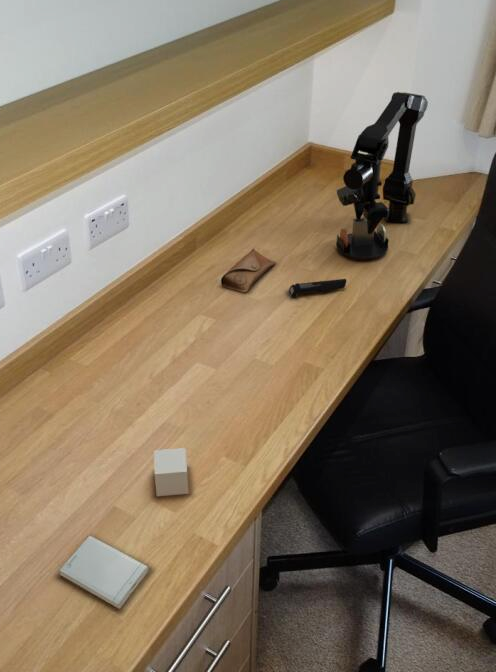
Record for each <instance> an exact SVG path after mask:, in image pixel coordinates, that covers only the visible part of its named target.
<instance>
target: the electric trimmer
mask: <svg viewBox="0 0 496 672" xmlns="http://www.w3.org/2000/svg"><path fill="white" fill-rule="evenodd" d="M346 284H347V279H346V278H340V279H330V280H322V281H321V280H320V281H312V282H310V281H309V282H301V283H298V282H297V283H295V284H291V285H290V286H289V289H288V294H289V295H290V297H291V298H297V296H299V295H306V294H312V293H313V294H314V293H323V294H324V293H328V292H333V291H336V290H341V289H344V288H345V287H346V286H347V285H346Z"/></svg>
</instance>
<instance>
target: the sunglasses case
mask: <svg viewBox="0 0 496 672" xmlns="http://www.w3.org/2000/svg"><path fill="white" fill-rule="evenodd" d="M275 265H276V262H273V261H272V260H270V259H269V258H268V257H266V256H264V255H263V254H261V253H260V252H259V251H257V250H256V249H255V248H251V250H250V251H249V252H248V253H246V254H245V255H244V256H243V257H242V258H240V259H239V260H238V261H237V262H236V263H235V264H234V265H233V266H232V267H230V269H229V270H228V271H226V272H225V274H223V275H222V277H221V279H220V283H221V285H222V286H223V287H224V288H226V289H229V290H231V291H235V292H241V293H247V292H249V291H250V289H251V288H252V287H253V285H254V284H256V282H257V281H259V280H260V278H262V276H264V275H265V274H266V273H267V272H268V271H269V270H270V269H272V268H273V267H274V266H275Z"/></svg>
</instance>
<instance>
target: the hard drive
mask: <svg viewBox="0 0 496 672" xmlns="http://www.w3.org/2000/svg"><path fill="white" fill-rule="evenodd" d="M148 572H149V566H148V565H146V564H144V563H142V562H141V561H139V560H137V559H134V558H133V557H131V556H130V555H127V554H125V553H124V552H122V551H121V550H118V549H117V548H115V547H113V546H111V545H109V544H107V543H105V542H103V541H101V540H100V539H98V538H96V537H94V536H92V535H89V536H88V537H87V538H86V539H85V540H84V541H83V542H82V544H81V545H80V546H79V547H78V548H76V550H75V551H74V552H73V554H72V555H71V556H70V557H69V558H68V559H67V560H66V562H65V563H64V564H63V565H62V566H61V568H60V569H59V575H60V576H62V577H63V578H65V579H67V580H69V581H70V582H72V583H73V584H74V585H77V586H78V587H80V588H81V589H84V590H85V591H87V592H89V593H90V594H93V595H94V596H96V597H98V598H99V599H101V600H103V601H104V602H107V603H108V604H110V605H112V606H113V607H115V608H117V609H118V610H119V609H121V608H122V607H123V606H124V604H125V603H126V601H128V598H129V597H130V596H131V595H132V594H133V592H134V591H135V589H136V588H137V587H138V586H139V584H140V583H141V581H142V580H143V579H144V577H146V575H147V573H148Z"/></svg>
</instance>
